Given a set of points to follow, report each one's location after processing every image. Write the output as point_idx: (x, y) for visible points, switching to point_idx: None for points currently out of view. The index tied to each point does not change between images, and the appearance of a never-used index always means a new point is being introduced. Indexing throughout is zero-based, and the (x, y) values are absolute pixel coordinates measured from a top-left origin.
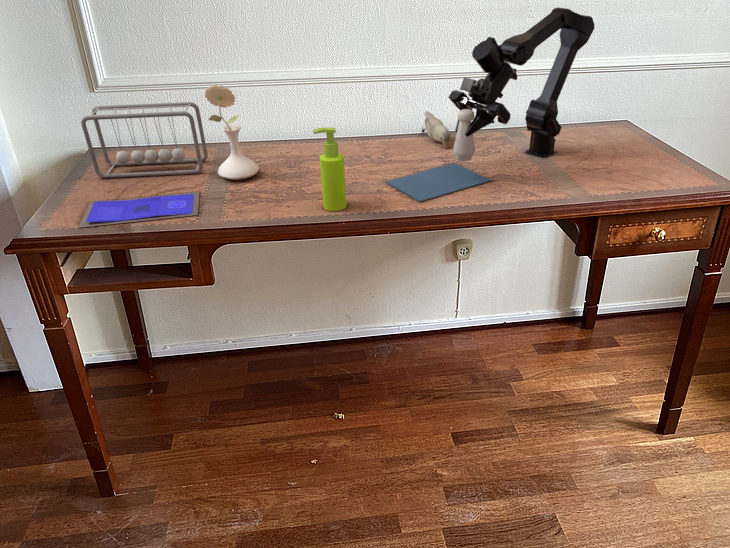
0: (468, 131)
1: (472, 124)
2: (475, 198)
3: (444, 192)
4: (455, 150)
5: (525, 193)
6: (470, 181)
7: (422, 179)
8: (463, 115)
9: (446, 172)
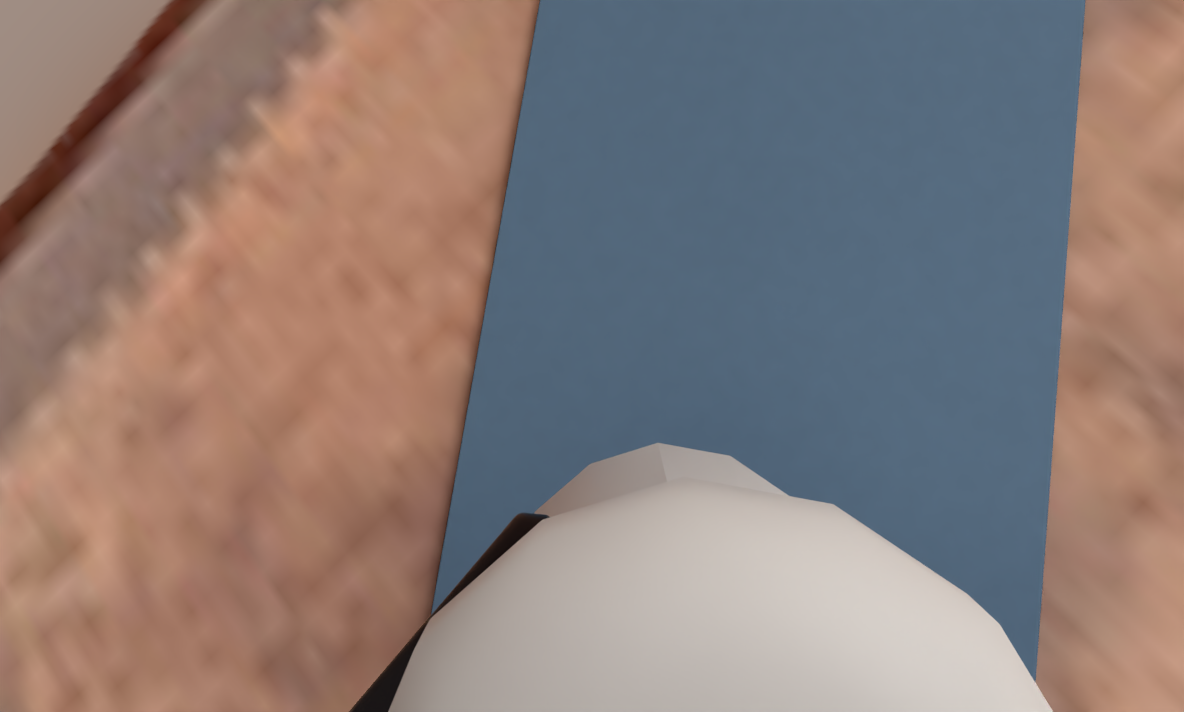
0: (474, 564)
1: (388, 704)
2: (280, 293)
3: (533, 173)
4: (711, 454)
5: (16, 699)
6: None
7: (892, 234)
8: (568, 518)
9: None
